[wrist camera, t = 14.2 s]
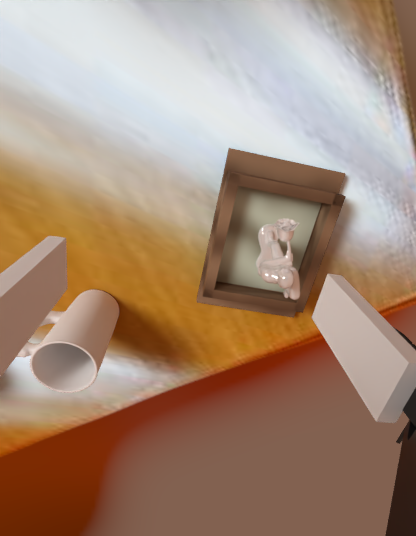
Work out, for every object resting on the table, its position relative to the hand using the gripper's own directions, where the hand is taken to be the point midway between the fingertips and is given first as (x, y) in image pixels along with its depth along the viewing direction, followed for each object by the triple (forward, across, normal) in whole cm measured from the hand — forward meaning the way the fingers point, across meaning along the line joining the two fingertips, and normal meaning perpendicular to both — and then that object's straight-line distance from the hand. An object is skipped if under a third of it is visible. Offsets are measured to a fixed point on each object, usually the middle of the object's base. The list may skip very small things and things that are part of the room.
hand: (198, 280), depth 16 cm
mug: (+24, -13, -18) cm, 32 cm away
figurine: (+23, +10, -5) cm, 25 cm away
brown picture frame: (+24, +10, -5) cm, 26 cm away
